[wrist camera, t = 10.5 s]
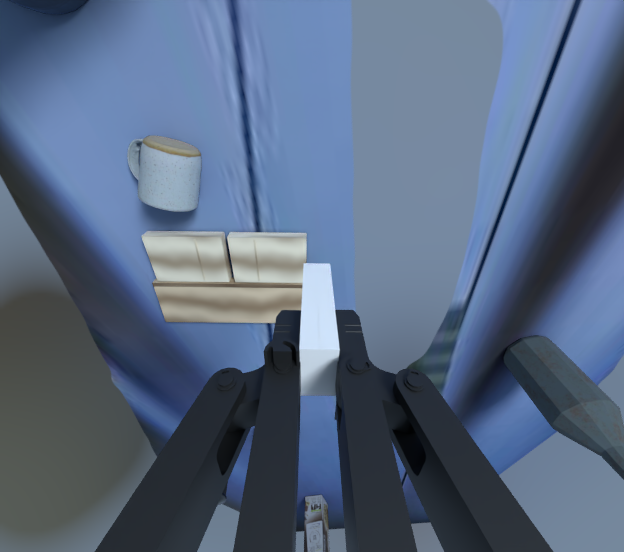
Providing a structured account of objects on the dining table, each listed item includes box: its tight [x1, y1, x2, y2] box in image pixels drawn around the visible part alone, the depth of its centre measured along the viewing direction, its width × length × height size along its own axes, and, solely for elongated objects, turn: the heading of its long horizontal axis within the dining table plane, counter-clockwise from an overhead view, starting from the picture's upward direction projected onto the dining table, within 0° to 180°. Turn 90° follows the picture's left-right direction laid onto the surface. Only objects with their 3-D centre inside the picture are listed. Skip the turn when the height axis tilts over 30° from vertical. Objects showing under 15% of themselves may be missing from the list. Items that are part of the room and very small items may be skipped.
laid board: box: [152, 278, 303, 323], centre depth 52 cm, size 9×28×2 cm, turn 89°
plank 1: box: [141, 231, 232, 282], centre depth 47 cm, size 9×12×2 cm
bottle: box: [504, 335, 624, 479], centre depth 48 cm, size 10×10×30 cm
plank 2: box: [227, 232, 307, 283], centre depth 47 cm, size 9×12×2 cm
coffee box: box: [304, 495, 330, 552], centre depth 93 cm, size 9×6×16 cm
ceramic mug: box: [127, 136, 202, 212], centre depth 38 cm, size 11×8×8 cm
